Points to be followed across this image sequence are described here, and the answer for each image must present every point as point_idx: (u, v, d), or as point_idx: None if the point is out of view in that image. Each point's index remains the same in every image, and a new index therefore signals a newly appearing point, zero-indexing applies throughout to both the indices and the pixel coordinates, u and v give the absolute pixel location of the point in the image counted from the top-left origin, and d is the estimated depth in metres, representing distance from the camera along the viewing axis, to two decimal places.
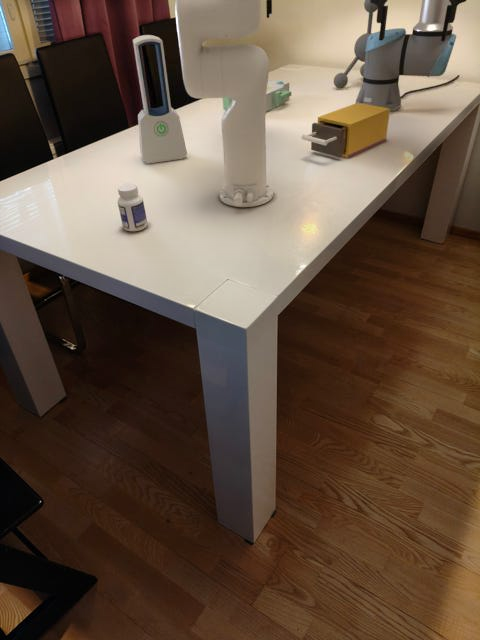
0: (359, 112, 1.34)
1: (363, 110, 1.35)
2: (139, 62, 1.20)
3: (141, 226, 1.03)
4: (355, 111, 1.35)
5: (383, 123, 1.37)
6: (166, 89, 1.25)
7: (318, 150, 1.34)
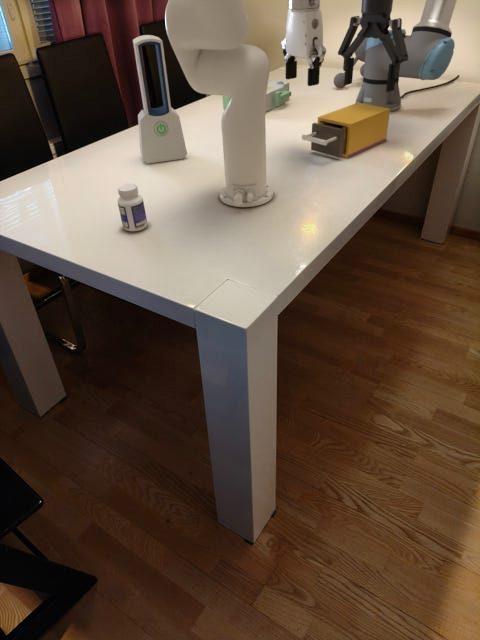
0: (359, 112, 1.34)
1: (363, 110, 1.35)
2: (139, 62, 1.20)
3: (141, 226, 1.03)
4: (355, 111, 1.35)
5: (383, 123, 1.37)
6: (166, 89, 1.25)
7: (318, 150, 1.34)
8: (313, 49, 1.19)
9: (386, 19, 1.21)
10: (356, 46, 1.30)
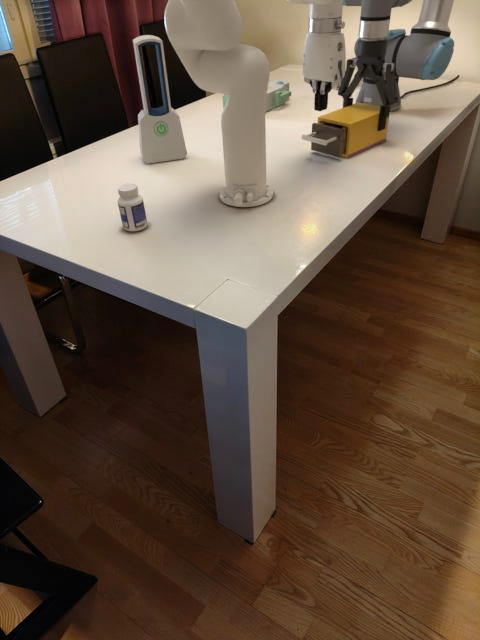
0: (359, 112, 1.34)
1: (363, 110, 1.35)
2: (139, 62, 1.20)
3: (141, 226, 1.03)
4: (355, 111, 1.35)
5: None
6: (166, 89, 1.25)
7: (318, 150, 1.34)
8: None
9: (381, 61, 1.27)
10: (354, 86, 1.36)
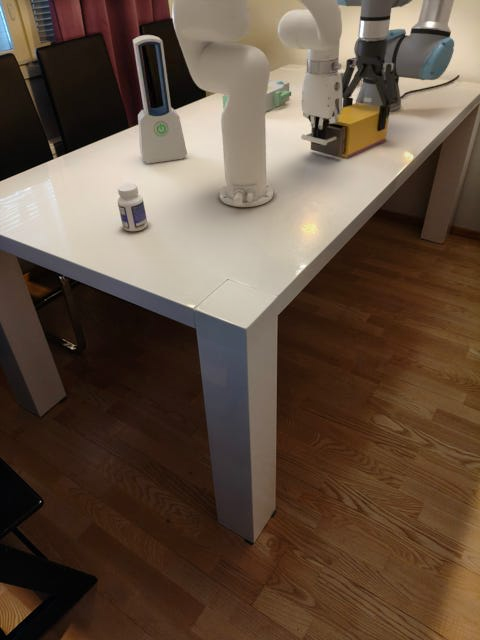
0: (359, 112, 1.34)
1: (363, 110, 1.35)
2: (139, 62, 1.20)
3: (141, 226, 1.03)
4: (355, 111, 1.35)
5: None
6: (166, 89, 1.25)
7: (318, 150, 1.34)
8: None
9: (381, 61, 1.27)
10: (354, 86, 1.36)
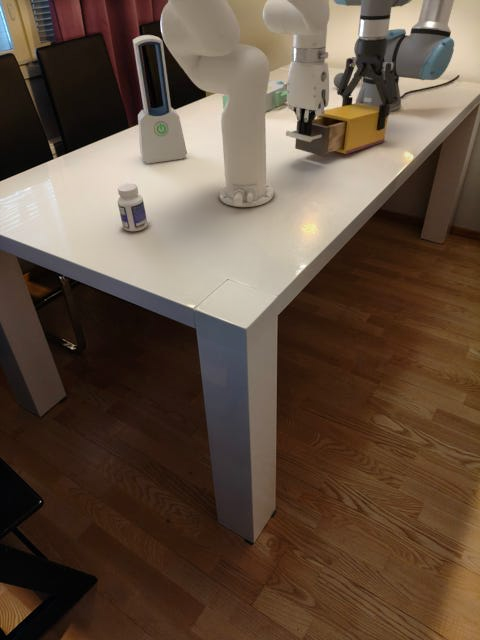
0: (358, 110, 1.34)
1: (362, 109, 1.35)
2: (139, 62, 1.20)
3: (141, 226, 1.03)
4: (354, 109, 1.35)
5: None
6: (166, 89, 1.25)
7: (302, 149, 1.29)
8: None
9: (380, 60, 1.26)
10: (354, 86, 1.36)
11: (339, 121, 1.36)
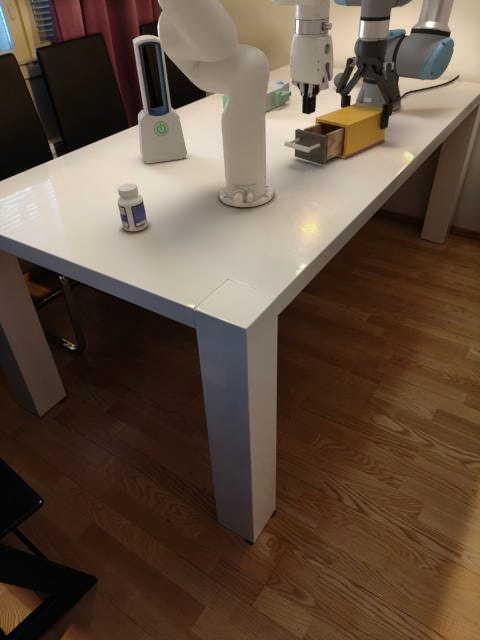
0: (357, 113, 1.34)
1: (361, 111, 1.35)
2: (139, 62, 1.20)
3: (141, 226, 1.03)
4: (353, 112, 1.35)
5: None
6: (166, 89, 1.25)
7: (302, 157, 1.30)
8: None
9: (381, 61, 1.27)
10: (353, 85, 1.36)
11: None
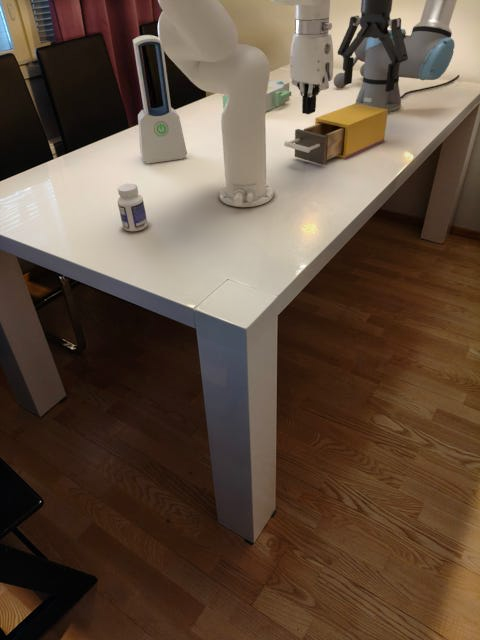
0: (357, 113, 1.34)
1: (361, 111, 1.35)
2: (139, 62, 1.20)
3: (141, 226, 1.03)
4: (353, 112, 1.35)
5: (381, 124, 1.36)
6: (166, 89, 1.25)
7: (302, 157, 1.30)
8: None
9: (386, 18, 1.21)
10: (356, 46, 1.31)
11: None
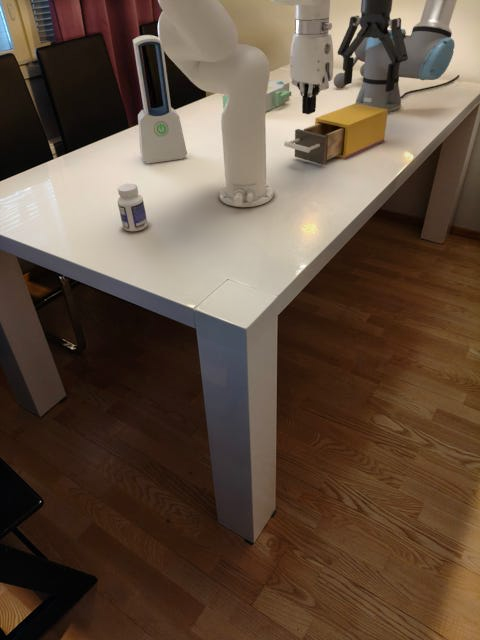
0: (357, 113, 1.34)
1: (361, 111, 1.35)
2: (139, 62, 1.20)
3: (141, 226, 1.03)
4: (353, 112, 1.35)
5: (381, 124, 1.36)
6: (166, 89, 1.25)
7: (302, 157, 1.30)
8: None
9: (386, 18, 1.21)
10: (356, 46, 1.31)
11: None
